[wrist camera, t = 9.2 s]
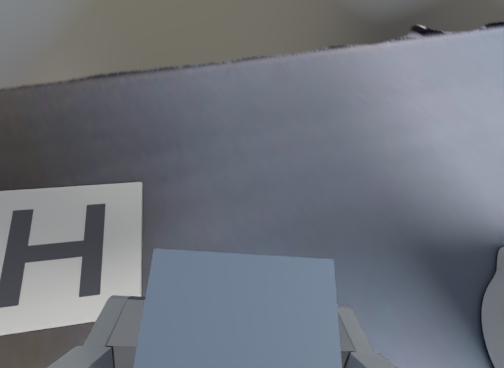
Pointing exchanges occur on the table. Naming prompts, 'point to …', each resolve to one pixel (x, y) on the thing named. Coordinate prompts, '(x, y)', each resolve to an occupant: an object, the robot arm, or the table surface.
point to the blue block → (238, 312)
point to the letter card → (67, 253)
